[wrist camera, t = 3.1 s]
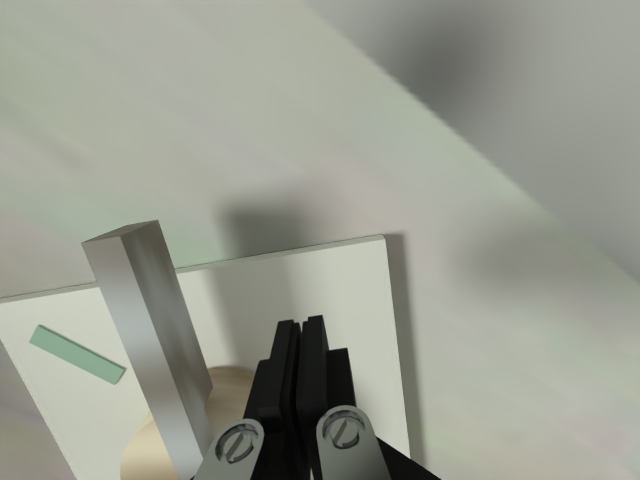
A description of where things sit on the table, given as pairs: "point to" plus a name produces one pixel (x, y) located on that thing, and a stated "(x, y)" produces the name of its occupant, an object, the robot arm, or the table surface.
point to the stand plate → (206, 342)
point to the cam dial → (163, 356)
